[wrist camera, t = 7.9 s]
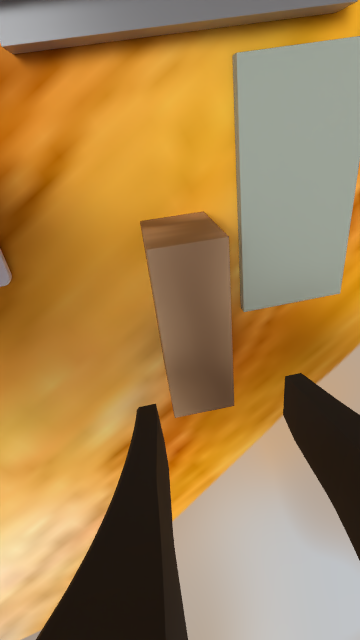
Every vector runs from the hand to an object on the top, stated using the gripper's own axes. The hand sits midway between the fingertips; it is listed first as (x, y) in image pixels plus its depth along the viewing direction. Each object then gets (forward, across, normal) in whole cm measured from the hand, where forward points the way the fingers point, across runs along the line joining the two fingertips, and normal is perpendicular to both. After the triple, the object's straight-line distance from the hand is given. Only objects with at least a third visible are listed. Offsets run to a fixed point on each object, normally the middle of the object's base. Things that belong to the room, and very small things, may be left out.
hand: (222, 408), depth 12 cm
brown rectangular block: (+10, 0, 0) cm, 10 cm away
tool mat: (+9, -7, -5) cm, 13 cm away
